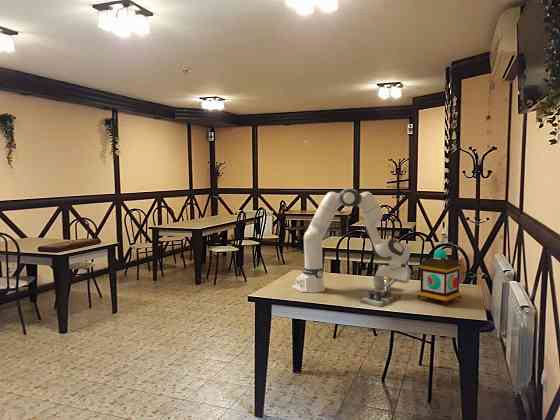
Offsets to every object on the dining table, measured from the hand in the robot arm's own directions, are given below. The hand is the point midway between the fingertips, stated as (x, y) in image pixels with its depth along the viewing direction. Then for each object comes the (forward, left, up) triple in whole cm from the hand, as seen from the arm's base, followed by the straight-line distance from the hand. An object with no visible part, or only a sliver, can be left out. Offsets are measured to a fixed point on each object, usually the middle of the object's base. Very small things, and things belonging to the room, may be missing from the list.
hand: (388, 286), depth 250 cm
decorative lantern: (+23, +17, -7) cm, 29 cm away
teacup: (-15, +13, -7) cm, 21 cm away
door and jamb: (+2, -8, -7) cm, 11 cm away
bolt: (+1, -5, -4) cm, 7 cm away
